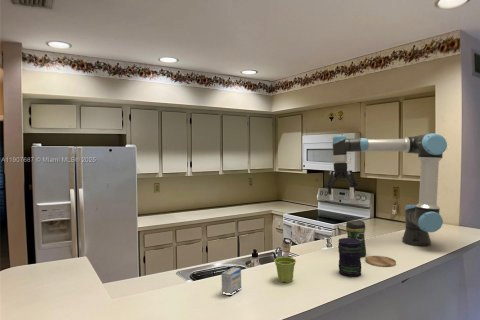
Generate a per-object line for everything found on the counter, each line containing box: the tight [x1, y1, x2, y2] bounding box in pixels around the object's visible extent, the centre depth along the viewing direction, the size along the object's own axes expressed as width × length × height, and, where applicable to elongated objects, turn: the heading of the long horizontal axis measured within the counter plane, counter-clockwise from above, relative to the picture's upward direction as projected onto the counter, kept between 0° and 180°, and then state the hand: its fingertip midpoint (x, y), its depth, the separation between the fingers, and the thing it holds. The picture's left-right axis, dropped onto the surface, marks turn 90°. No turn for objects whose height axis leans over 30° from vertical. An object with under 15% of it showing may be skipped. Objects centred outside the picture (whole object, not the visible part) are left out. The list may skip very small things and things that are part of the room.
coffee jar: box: [345, 220, 367, 258], centre depth 171 cm, size 10×8×19 cm
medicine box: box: [221, 266, 242, 294], centre depth 128 cm, size 8×4×9 cm, turn 148°
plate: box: [364, 255, 397, 268], centre depth 160 cm, size 14×14×1 cm
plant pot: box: [273, 256, 297, 283], centre depth 139 cm, size 9×9×9 cm
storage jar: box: [337, 237, 362, 278], centre depth 146 cm, size 10×10×15 cm
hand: (341, 199), depth 184 cm, fingers open, 13 cm apart
